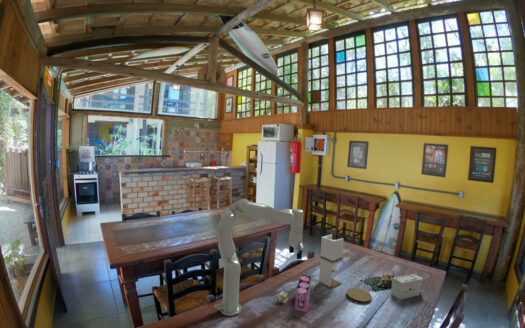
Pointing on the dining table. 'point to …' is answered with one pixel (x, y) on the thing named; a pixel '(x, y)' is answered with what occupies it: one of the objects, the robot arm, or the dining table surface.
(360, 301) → the tan round disc
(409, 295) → the concrete block
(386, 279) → the plated dish
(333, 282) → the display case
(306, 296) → the gum box
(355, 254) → the dining table surface
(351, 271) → the dining table surface
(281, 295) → the ash cube
